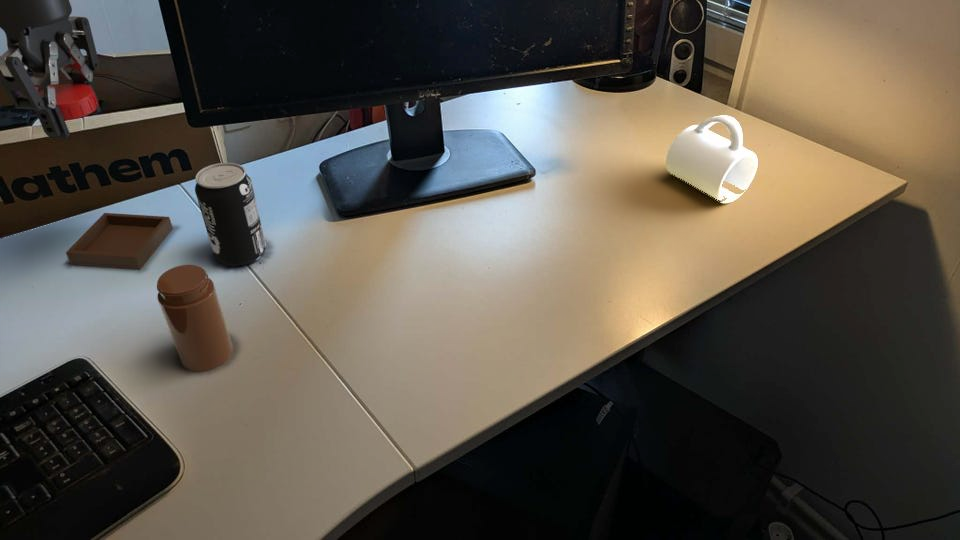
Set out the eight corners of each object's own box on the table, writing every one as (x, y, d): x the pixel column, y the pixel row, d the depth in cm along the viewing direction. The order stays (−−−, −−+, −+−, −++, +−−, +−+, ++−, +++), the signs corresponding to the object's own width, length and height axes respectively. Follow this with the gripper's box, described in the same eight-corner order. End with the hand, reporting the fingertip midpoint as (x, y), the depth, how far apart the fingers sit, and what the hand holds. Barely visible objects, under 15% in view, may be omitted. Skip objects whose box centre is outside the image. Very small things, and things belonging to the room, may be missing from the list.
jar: (172, 369, 71) (142, 294, 64) (193, 334, 75) (167, 260, 68) (221, 373, 70) (196, 297, 64) (240, 338, 75) (218, 263, 68)
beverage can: (205, 254, 87) (181, 174, 79) (249, 233, 91) (230, 155, 83) (232, 276, 83) (209, 194, 76) (277, 253, 87) (259, 173, 80)
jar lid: (71, 95, 79) (66, 79, 78) (109, 104, 77) (104, 88, 76) (28, 114, 74) (21, 98, 73) (67, 124, 73) (61, 108, 72)
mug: (696, 166, 107) (714, 96, 100) (749, 194, 100) (772, 121, 93) (660, 180, 103) (675, 108, 96) (712, 210, 97) (733, 136, 89)
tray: (71, 265, 85) (65, 252, 83) (109, 224, 92) (104, 212, 91) (140, 269, 84) (135, 257, 83) (173, 228, 91) (169, 216, 90)
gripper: (3, -8, 61) (71, 156, 71) (89, -46, 72) (137, 100, 82) (-74, -11, 61) (5, 152, 72) (24, -49, 72) (80, 97, 83)
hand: (76, 124), depth 77 cm, fingers closed on jar lid, 6 cm apart
